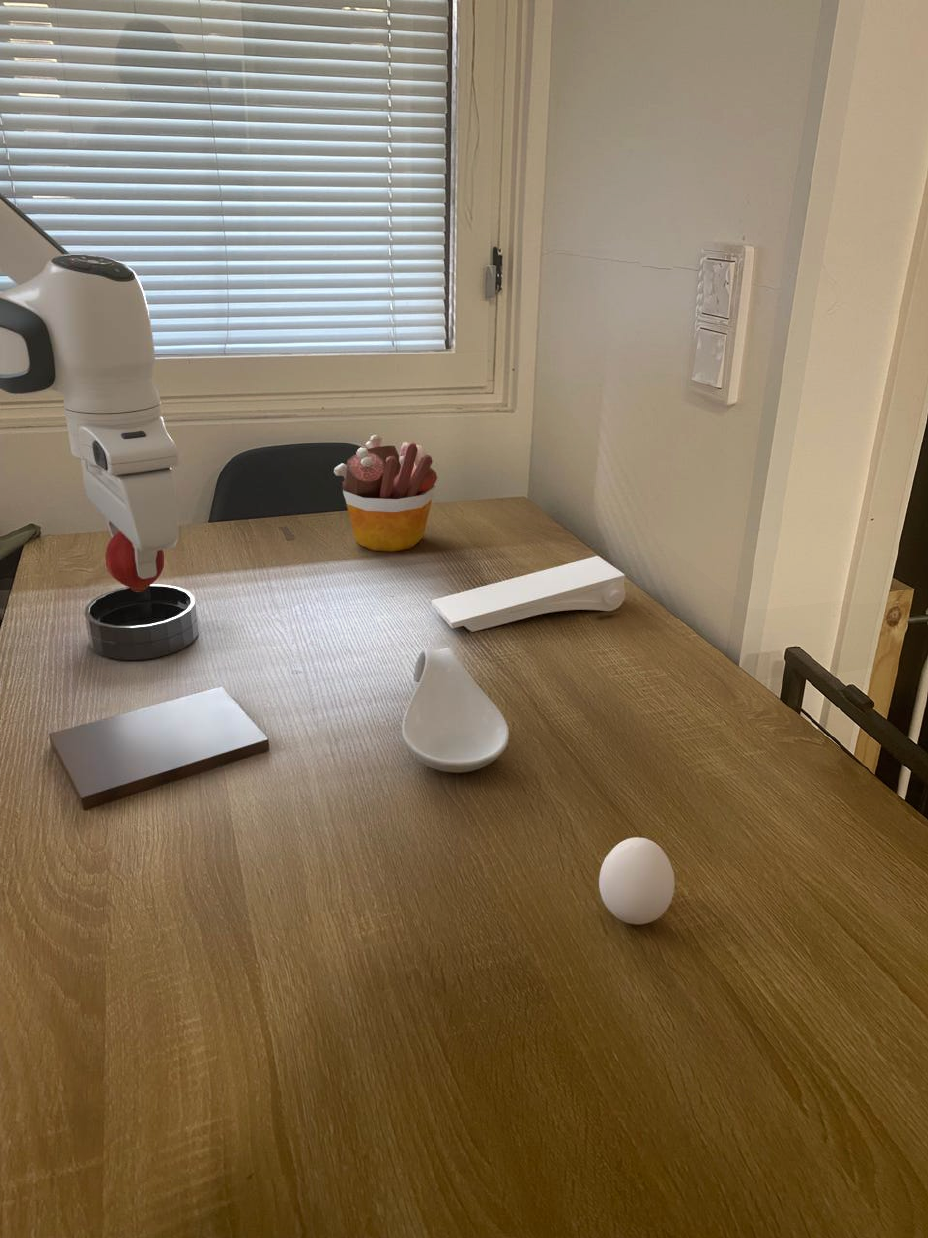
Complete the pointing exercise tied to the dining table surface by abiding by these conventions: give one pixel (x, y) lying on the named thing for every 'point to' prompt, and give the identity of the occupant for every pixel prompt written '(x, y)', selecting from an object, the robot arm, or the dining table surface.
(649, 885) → the egg
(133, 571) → the onion
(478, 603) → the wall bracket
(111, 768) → the board
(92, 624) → the pan
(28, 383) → the robot arm
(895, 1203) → the dining table surface
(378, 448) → the bucket of meat
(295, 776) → the dining table surface
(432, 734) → the spoon rest
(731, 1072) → the dining table surface
